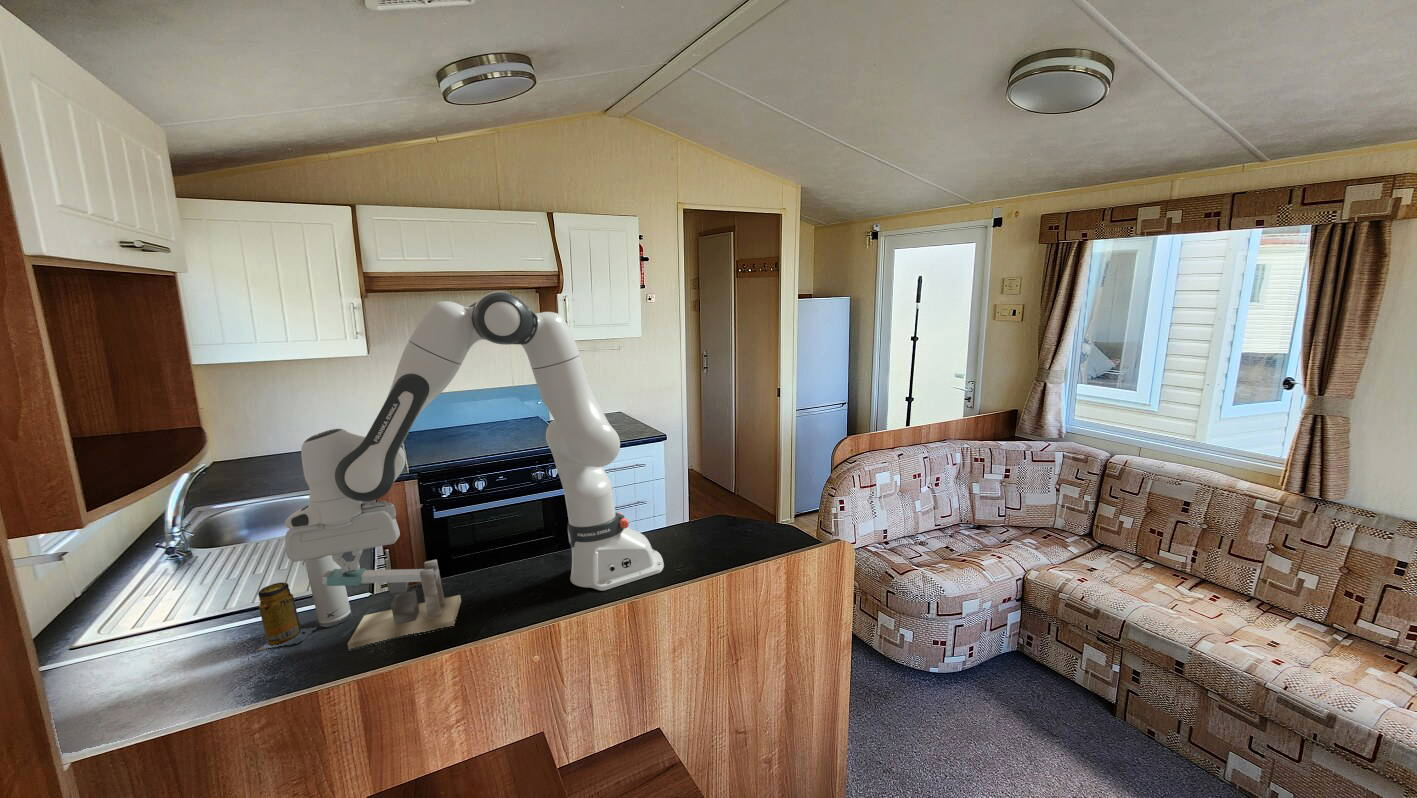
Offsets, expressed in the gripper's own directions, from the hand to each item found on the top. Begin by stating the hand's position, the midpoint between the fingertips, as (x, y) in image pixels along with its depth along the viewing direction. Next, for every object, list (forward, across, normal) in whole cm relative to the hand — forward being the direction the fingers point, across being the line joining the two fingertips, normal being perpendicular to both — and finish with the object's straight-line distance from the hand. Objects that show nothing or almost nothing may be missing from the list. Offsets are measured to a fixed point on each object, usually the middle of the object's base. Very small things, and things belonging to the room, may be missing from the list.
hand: (351, 571), depth 123 cm
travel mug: (+15, +8, -10) cm, 20 cm away
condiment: (+15, +16, -6) cm, 23 cm away
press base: (+14, -9, 0) cm, 17 cm away
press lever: (+6, -5, 0) cm, 7 cm away
